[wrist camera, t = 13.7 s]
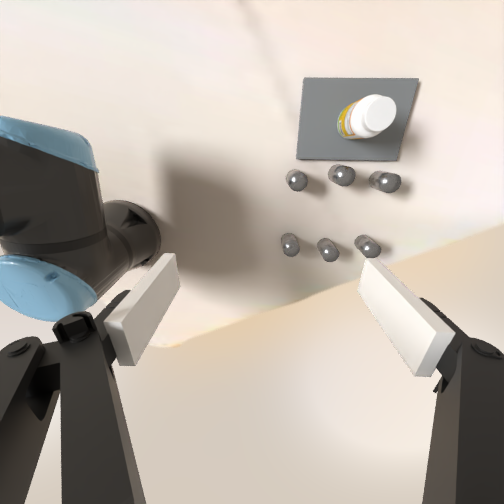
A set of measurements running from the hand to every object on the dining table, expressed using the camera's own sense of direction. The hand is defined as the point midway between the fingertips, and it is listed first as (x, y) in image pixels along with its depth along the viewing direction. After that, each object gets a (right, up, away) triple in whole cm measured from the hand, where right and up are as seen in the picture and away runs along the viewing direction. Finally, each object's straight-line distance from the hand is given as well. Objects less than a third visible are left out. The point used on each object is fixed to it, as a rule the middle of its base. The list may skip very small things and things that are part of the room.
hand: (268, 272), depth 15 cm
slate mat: (+16, +24, +23) cm, 37 cm away
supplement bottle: (+16, +24, +22) cm, 36 cm away
